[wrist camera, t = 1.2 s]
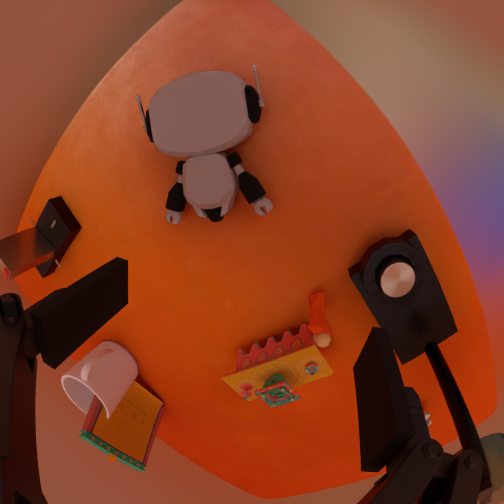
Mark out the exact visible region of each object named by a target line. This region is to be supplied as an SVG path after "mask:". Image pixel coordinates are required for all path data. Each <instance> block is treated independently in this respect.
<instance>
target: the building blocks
mask: <svg viewBox="0 0 504 504" xmlns="http://www.w3.org/2000/svg"><path fill="white" fill-rule="evenodd" d="M309 301H310V310H309V313H310V316H311V320H310V324H309V325H308V327H307V326H306V324H305V323H304V324H301V325H300V329H299V333H298V334H297V335H294V336H293V334H292V333H291V331H290V330H287V331H285V332H284V334H283V337H282V340H281V341H279V342H277V341H276V339H275V338H274V337H273V336H272V337H270V338H268V340H267V343H266V345H265V347H264V348H262V347H261V346H260V345H259V344H258V342H257V343H254V344H252V347H251V350H250V352H249V353H246V351H245V350H244V349H243V348H241V349H239V350H238V356H237V365H236V369H237V370H235V372H232V373H229V374H226V375H225V376H223V377H221V379H222V380H223V381H225V382H226V383H227V384H228V385H229V386H230V387H231V388H233V389H234V390H235V391H236V392H237V393H238V394H240V395H241V397H242V398H244V399H245V400H247V401H251V400H254V399H258V398H259V399H261V400H262V401H263V402H264V403H265V404H266V405H268V406H269V407H270V408H274V407H278V406H281V405H285V404H288V403H291V402H295V401H298V400H301V397H300V396H299V395H298V394H297V393H296V392H295V391H294V390H293V389H292V388H294V387H297V386H300V385H303V384H306V383H309V382H312V381H315V380H317V379H320V378H323V377H326V376H328V375H331V374H334V371H333V370H332V368H331V367H330V366H329V364H328V363H327V361H326V360H325V358H324V357H323V355H322V354H321V353H320V351H319V350H318V346H319V347H326V346H328V345H329V343H330V341H331V340H330V337H331V335H332V333H331V330H330V328H329V326H328V325H329V324H328V322H327V321H326V320H325V308H326V307H325V294H324V292H318V293H317V294H315V295H312V296H310V297H309ZM309 330H310V331H311V332H312V333H313V336H310V333H309ZM317 345H318V346H317ZM163 405H164V403H163V402H161V401H160V400H159V399H157V398H156V397H155V396H153V395H152V394H151V393H150V392H148V391H147V390H146V389H145V388H143V387H142V386H141V385H140V384H138V383H137V382H136V381H135V380H133V382H132V384H131V386H130V387H129V389H128V390H127V392H126V394H125V395H124V397H123V398H122V400H121V401H120V403H119V404H118V406H117V407H116V409H115V410H114V412H113V413H112V415H111V416H110V418H109V419H108V418H107V417H106V416H107V412H106V409H105V407H104V405H103V404H102V402H101V401H100V399H99V398H98V397H97V396H96V395H95V394H94V397H93V400H92V402H91V405H90V408H89V410H88V413H87V416H86V419H85V422H84V425H83V428H82V431H81V432H82V434H81V435H80V436H79V437H81V438H82V439H84V440H85V441H87V442H88V443H90V444H92V445H93V446H95V447H97V448H98V449H100V450H102V451H103V452H105V453H107V454H108V458H109V461H110V462H111V463H112V462H113V461H115V460H116V459H117V460H119V461H120V462H122V463H124V464H126V465H128V466H130V467H132V468H133V469H136V470H137V471H145V470H144V467H146V463H147V460H148V457H149V454H150V451H151V448H152V445H153V442H154V439H155V436H156V433H157V430H158V427H159V424H160V421H161V418H162V415H163V412H164V409H165V408H164V407H163Z"/></svg>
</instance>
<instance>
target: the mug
mask: <svg viewBox="0 0 504 504" xmlns="http://www.w3.org/2000/svg"><path fill="white" fill-rule="evenodd" d="M137 376H138V365H137V362H136V360H135V359H134V357H133V356H132V354H131V353H130V352H129V351H128V350H127V349H126V348H125V347H123V346H122V345H120V344H118V343H116V342H114V341H104V342H102V343H100V344H99V345H98V346H97V347H96V348H95V349H93V350H92V351H91V352H90V353H89V354H88V355H86V356H85V357H84V358H83V359H82V360H81V361H79V362H78V363H77V364H76V365H75V366H74V367H72V368H71V369H70V370H69V371H68V372H67V373H66V374H65V375H63V377H62V379H61V382H62V386H63V389H64V391H65V392H66V394H67V395H68V397H69V398H70V399H71V401H72V402H73V403H74V404H75V405H76V406H77V407H78V408H79V409H80V410H82V411H83V412H85V413H86V414H87V413H88V410H89V408H90V405H91V402H92V400H93V397H94V394H95V395H96V396H97V397H98V398H99V399H100V401H101V402H102V404H103V405H104V407H105V409H106V412H107V416H106V417H107V418H108V419H109V418H110V416H111V415H112V413H113V412H114V410H115V409H116V407H117V406H118V404H119V403H120V401H121V400H122V398H123V397H124V395H125V394H126V392H127V390H128V389H129V387H130V386H131V384H132V382H133V380H135V379H136V377H137Z"/></svg>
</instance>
